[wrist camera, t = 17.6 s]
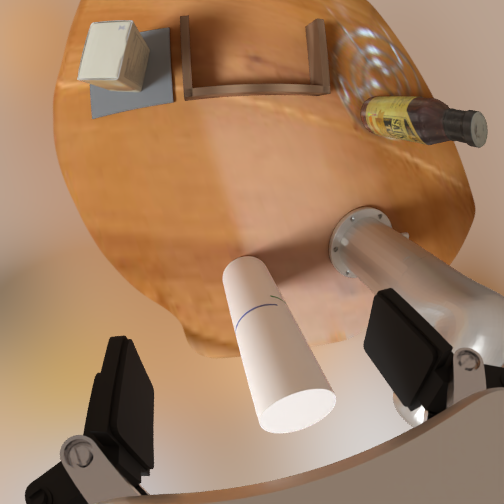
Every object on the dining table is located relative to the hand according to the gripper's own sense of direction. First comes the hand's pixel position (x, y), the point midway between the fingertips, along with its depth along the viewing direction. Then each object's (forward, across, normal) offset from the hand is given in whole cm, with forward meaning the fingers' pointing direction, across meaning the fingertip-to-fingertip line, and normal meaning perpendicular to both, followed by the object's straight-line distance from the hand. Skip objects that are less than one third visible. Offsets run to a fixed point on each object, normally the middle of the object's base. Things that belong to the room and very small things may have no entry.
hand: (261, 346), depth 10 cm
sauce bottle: (+31, -26, -9) cm, 41 cm away
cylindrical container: (+31, -4, +15) cm, 34 cm away
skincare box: (+30, +9, -17) cm, 36 cm away
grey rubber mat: (+30, +9, -17) cm, 36 cm away
